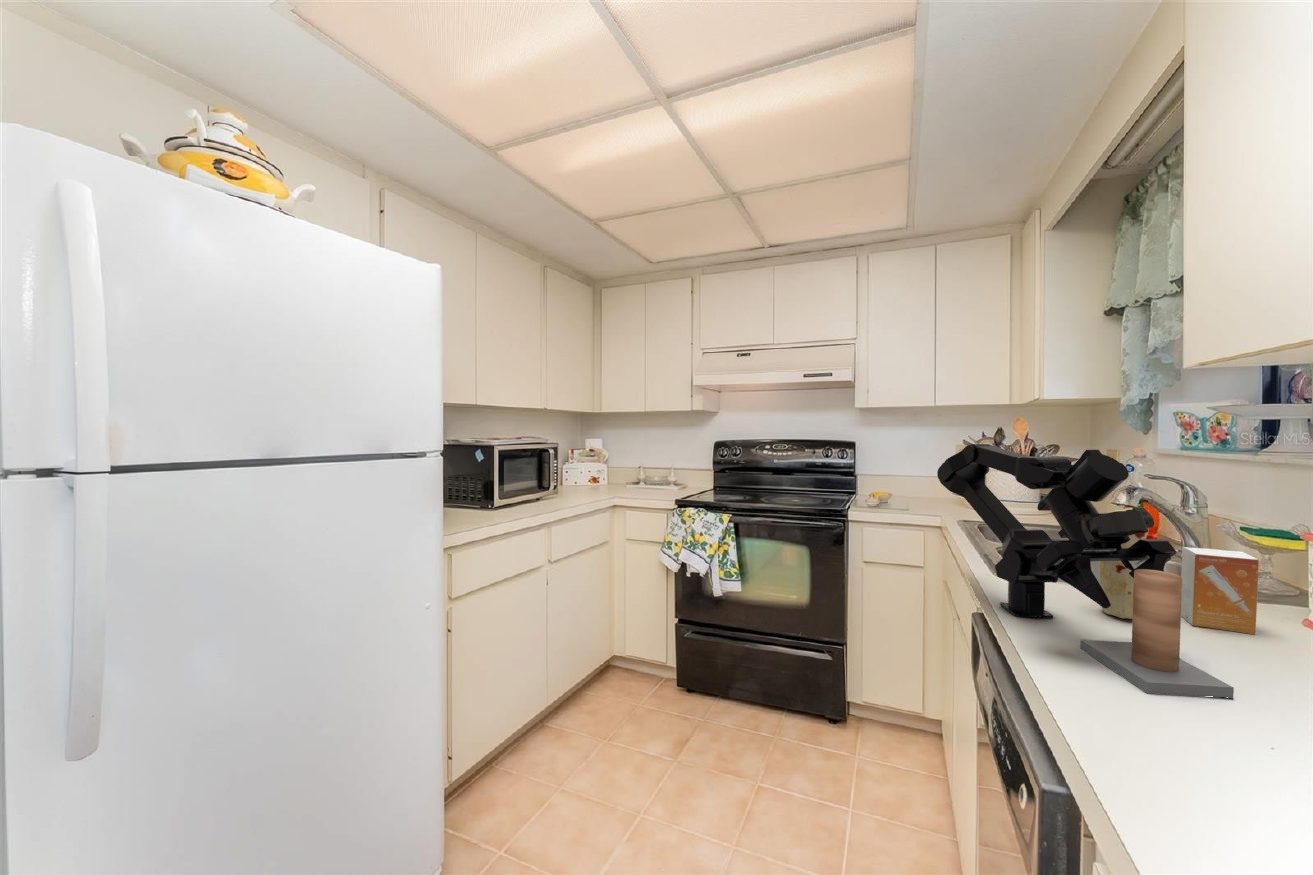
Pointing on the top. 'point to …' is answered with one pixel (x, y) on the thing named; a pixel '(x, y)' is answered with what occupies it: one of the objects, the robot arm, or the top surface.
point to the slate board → (1156, 672)
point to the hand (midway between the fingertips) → (1137, 606)
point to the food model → (1119, 582)
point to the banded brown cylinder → (1156, 620)
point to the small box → (1219, 589)
